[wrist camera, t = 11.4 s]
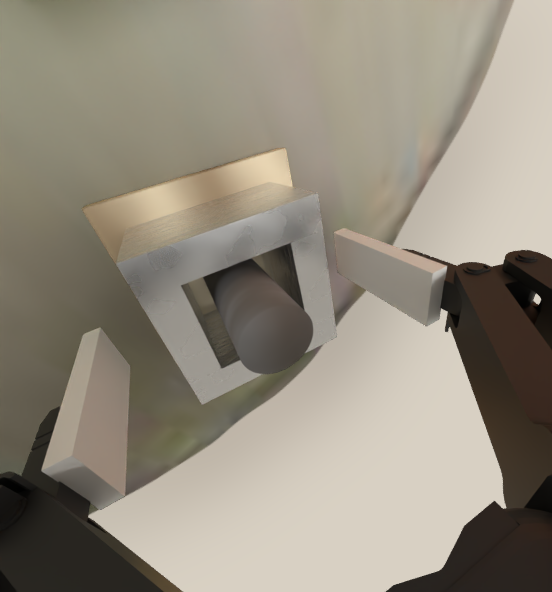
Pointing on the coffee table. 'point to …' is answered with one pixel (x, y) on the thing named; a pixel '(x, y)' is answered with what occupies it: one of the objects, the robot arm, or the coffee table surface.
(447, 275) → the robot arm
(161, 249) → the frame
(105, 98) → the coffee table surface
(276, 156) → the shaft block
